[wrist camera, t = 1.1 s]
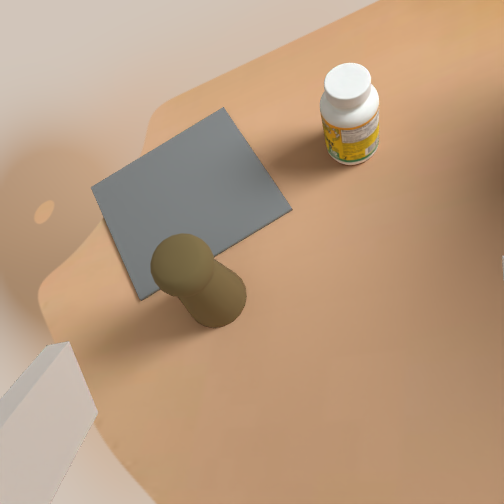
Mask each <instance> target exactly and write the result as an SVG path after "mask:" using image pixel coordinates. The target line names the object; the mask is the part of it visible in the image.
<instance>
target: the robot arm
mask: <svg viewBox="0 0 504 504" xmlns="http://www.w3.org/2000/svg"><path fill="white" fill-rule="evenodd" d="M502 264H503V279H504V256H502ZM97 414H98V411H97V408H96V406H95V404H94V401H93V399H92V396H91V394H90V391H89V389H88V386H87V384H86V381H85V379H84V377H83V374H82V372H81V369H80V367H79V364H78V362H77V359H76V357H75V354H74V352H73V350H72V347H71V345H70V342H69V341H67V342H62V343H57V344H52V345H47V346H46V347H45V348H44V349H43V350H42V351H41V352H40V354H39V355H38V356H37V357H36V358H35V359H34V361H33V362H32V363H31V364H30V365H29V366H28V368H27V369H26V370H25V371H24V372H23V373H22V375H21V376H20V377H19V378H18V379H17V380H16V382H15V383H14V384H13V385H12V386H11V387H10V389H9V390H8V391H7V392H6V393H5V394H4V396H3V397H2V398H1V399H0V504H50V503H51V501H52V499H53V498H54V496H55V494H56V492H57V490H58V488H59V486H60V484H61V482H62V481H63V479H64V477H65V475H66V473H67V471H68V469H69V467H70V465H71V463H72V461H73V460H74V458H75V456H76V454H77V452H78V450H79V448H80V446H81V445H82V443H83V441H84V439H85V437H86V435H87V433H88V431H89V429H90V427H91V426H92V424H93V422H94V420H95V418H96V416H97Z"/></svg>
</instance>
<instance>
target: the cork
mask: <svg viewBox="0 0 504 504" xmlns="http://www.w3.org/2000/svg"><path fill="white" fill-rule="evenodd" d="M150 268H151V274H152V277H153V279H154V282H155V283H156V285H157V286H158V287H159V288H160V289H161V290H162V291H164V292H165V293H167V294H169V295H171V296H177V297H178V298H179V299H180V300H181V302H182V303H183V304H184V306H185V307H186V308H187V310H188V311H189V313H190V314H191V315H192V316H193V318H194V319H195V320H196V321H197V322H198V323H200V324H202V325H204V326H206V327H213V328H217V327H222V326H225V325H227V324H229V323H231V322H233V321H234V320H235V319H236V318H237V317H238V316H239V315H240V314H241V312H242V310H243V308H244V306H245V302H246V297H247V296H246V288H245V285H244V283H243V281H242V279H241V278H240V277H239V276H238V275H237V274H236V273H234V272H233V271H231V270H230V269H228V268H227V267H225V266H224V265H222V264H221V263H219V262H218V261H216V260H215V259H214V255H213V253H212V251H211V249H210V247H209V246H208V245H207V244H206V243H205V242H204V241H203V240H202V239H201V238H198V237H196V236H194V235H192V234H185V233H181V234H176V235H172V236H170V237H168V238H166V239H164V240H163V241H162V242H161V243H160V244H159V245H158V246H157V248H156V249H155V251H154V253H153V255H152V259H151V263H150Z"/></svg>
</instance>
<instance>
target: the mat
mask: <svg viewBox="0 0 504 504" xmlns="http://www.w3.org/2000/svg"><path fill="white" fill-rule="evenodd" d="M91 189H92V191H93V194H94V196H95V198H96V201H97V203H98V205H99V207H100V209H101V212H102V214H103V217H104V219H105V221H106V223H107V226H108V228H109V230H110V233H111V235H112V237H113V239H114V242H115V244H116V246H117V249H118V251H119V253H120V255H121V258H122V260H123V262H124V265H125V267H126V269H127V271H128V274H129V276H130V278H131V281H132V283H133V285H134V287H135V290H136V292H137V294H138V297H139V299H140V300H141V301H142V300H143V299H145V298H147V297H148V296H150V295H152V294H153V293H155V292H157V291H158V290H160V288H159V287H158V286H157V285H156V283H155V282H154V279H153V277H152V274H151V268H150V263H151V259H152V255H153V253H154V251H155V249H156V248H157V246H158V245H159V244H160V243H161V242H162V241H163V240H164V239H166V238H168V237H170V236H172V235H176V234H181V233H185V234H192V235H194V236H196V237H198V238H201V239H202V240H203V241H204V242H205V243H206V244H207V245H208V246H209V247H210V249H211V251H212V253H213V255H214V257H215V256H217V255H218V254H220V253H222V252H223V251H225V250H227V249H228V248H230V247H232V246H233V245H235V244H237V243H238V242H240V241H242V240H243V239H245V238H247V237H248V236H250V235H252V234H253V233H255V232H257V231H258V230H260V229H261V228H263V227H265V226H266V225H268V224H270V223H271V222H273V221H275V220H276V219H278V218H280V217H281V216H283V215H285V214H286V213H288V212H290V211H291V210H292V208H291V206H290V205H289V203H288V202H287V200H286V199H285V197H284V196H283V194H282V193H281V192H280V190H279V189H278V187H277V186H276V184H275V183H274V181H273V180H272V178H271V177H270V175H269V174H268V172H267V171H266V169H265V168H264V166H263V165H262V163H261V162H260V160H259V159H258V157H257V156H256V155H255V153H254V152H253V150H252V149H251V147H250V146H249V144H248V143H247V141H246V140H245V138H244V137H243V135H242V134H241V132H240V131H239V129H238V128H237V126H236V125H235V123H234V122H233V121H232V119H231V118H230V116H229V115H228V113H227V112H226V110H225V109H224V107H223V108H221V109H220V110H218V111H216V112H215V113H213V114H211V115H210V116H208V117H206V118H205V119H203V120H201V121H200V122H198V123H196V124H195V125H193V126H191V127H190V128H188V129H186V130H185V131H183V132H182V133H180V134H178V135H177V136H175V137H173V138H172V139H170V140H168V141H167V142H165V143H163V144H162V145H160V146H158V147H157V148H155V149H153V150H152V151H150V152H148V153H147V154H145V155H143V156H142V157H140V158H139V159H137V160H135V161H134V162H132V163H130V164H129V165H127V166H125V167H124V168H122V169H121V170H119V171H117V172H115V173H114V174H112V175H110V176H109V177H107V178H105V179H104V180H102V181H101V182H99V183H97V184H96V185H94V186H92V187H91Z"/></svg>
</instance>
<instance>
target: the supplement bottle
mask: <svg viewBox="0 0 504 504" xmlns="http://www.w3.org/2000/svg"><path fill="white" fill-rule="evenodd" d="M324 90H325V91H324V93H323V95H322V97H321V100H320V112H321V118H322V123H323V130H324V136H325V142H326V147H327V151H328V153H329V154H330V156H331V157H332V158H334V159H335V160H336V161H338V162H339V163H342V164H346V165H355V164H359V163H362V162H365V161H366V160H368V159H369V158H370V157H372V156H373V154H374V153H375V152H376V150H377V147H378V143H379V97H378V93H377V91H376V89H375V88H374V86H373V85H372V84H371V76H370V73H369V71H368V70H367V69H366V68H365V67H363V66H362V65H359V64H356V63H345V64H341V65H338V66H336V67H334V68H333V69H332V70H330V71H329V73H328V74H327V76H326V77H325V81H324Z"/></svg>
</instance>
